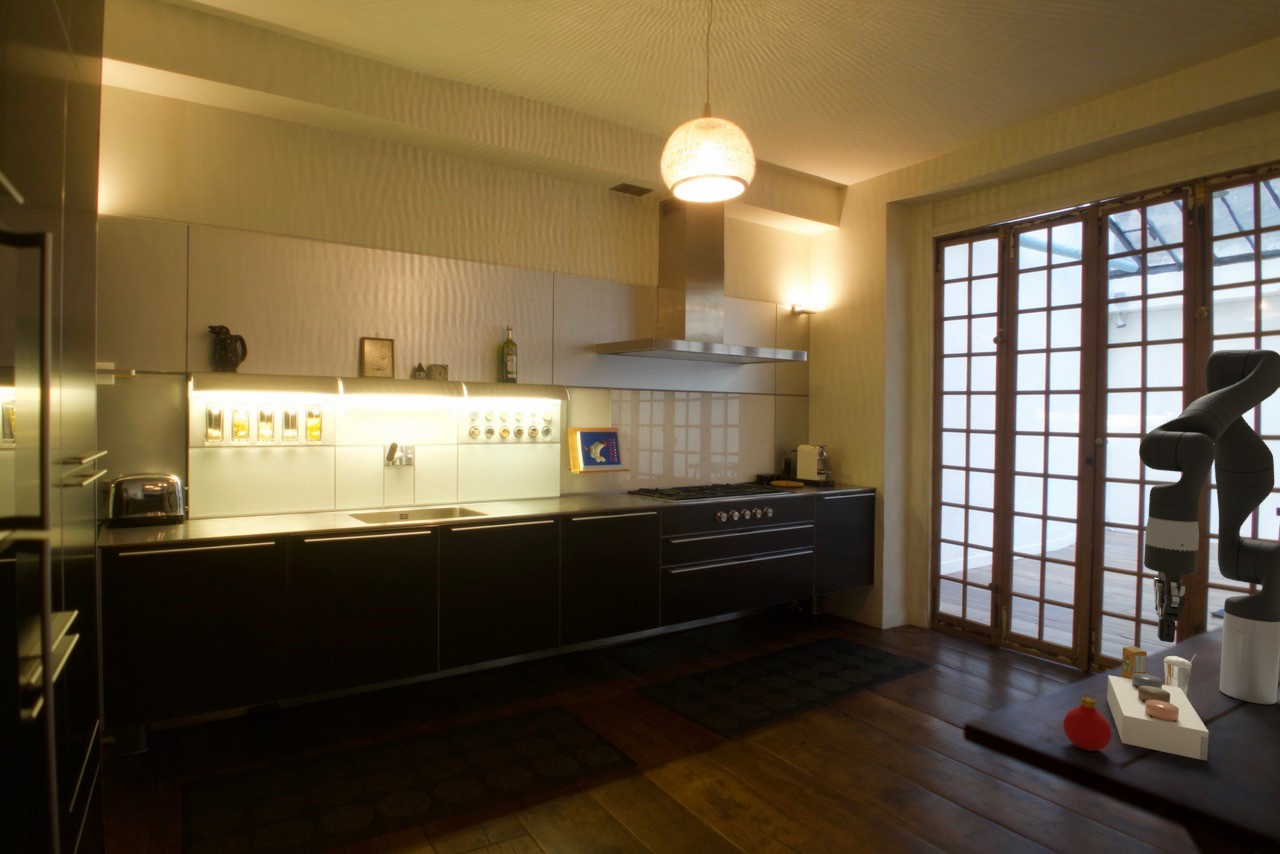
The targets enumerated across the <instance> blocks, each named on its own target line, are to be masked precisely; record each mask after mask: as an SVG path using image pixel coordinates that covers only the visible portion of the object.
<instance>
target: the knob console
mask: <svg viewBox="0 0 1280 854" xmlns="http://www.w3.org/2000/svg"><path fill="white" fill-rule="evenodd" d="M1162 689H1163V690H1165V691H1167V692H1169V693H1170V704H1173V705H1175V706H1176V707H1178V708H1179V717H1178V720H1174V722H1171V721H1166V720H1161V719H1156V718H1151V717H1150V716H1149V714H1148V713H1146V712H1145V702H1143V701H1142V699H1140V698H1139V697H1138V690H1139V689H1137V688H1136V686H1135V685H1133V684H1132V679H1127V678H1122V676H1116V675H1109V674H1108V675H1107V690H1106V692H1107V693H1106V700H1107V704H1108V707H1109V709H1110V711H1111V715H1112V717H1113V721H1114V724H1115V726H1116V729H1117V732H1118V735H1119V737H1120V740H1121V743H1122V744H1125V745H1129V746H1130V745H1131V746H1135V747H1139V748H1145V749H1149V750H1153V751H1154V750H1155V751H1159V752H1164V753H1168V754H1173V755H1177V756H1183V757H1187V758H1191V759H1197V760H1200V761H1201V760H1202V761H1206V762H1207V761H1208V749H1209V747H1208V746H1209V733H1210V732H1209V730H1208V729H1207V727H1206V726H1205V724H1204V722H1203V721H1202V719H1201V717H1200V716H1199V714H1198V713H1197V711H1196V710H1195V708H1194V707H1193V705H1192V704H1191V701H1190V700H1189V699H1188V697H1187V696H1185V694H1184V693H1183V691H1182V689H1181V688H1179V687H1173V686H1167V685H1165V684H1162Z"/></svg>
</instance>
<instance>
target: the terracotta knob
mask: <svg viewBox="0 0 1280 854" xmlns="http://www.w3.org/2000/svg"><path fill="white" fill-rule="evenodd" d="M1145 712H1146V713H1148V714H1149V716H1150V717H1151V718H1156V719H1161V720H1166V721H1171V722H1174V720H1178V717H1179V708H1178V707H1176V706H1175V705H1173V704H1170V703H1167V702H1163V701H1159V700H1147V701H1146V702H1145Z"/></svg>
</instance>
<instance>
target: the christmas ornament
mask: <svg viewBox="0 0 1280 854" xmlns="http://www.w3.org/2000/svg"><path fill="white" fill-rule="evenodd" d="M1089 693H1090V694H1091V696H1092V697H1086V695H1088V694H1089ZM1083 695H1084V696H1083V697H1081V703H1080V705H1079V706H1077V707H1074V708H1071V709H1070V710H1069V711H1068V712H1067V713H1066V714H1065V716H1064V718H1063V730H1064V733H1065V735H1066V737H1067V738H1068V739H1069V741H1070V742H1071V743H1072V744H1073V745H1075V746H1076V747H1077V748H1079V749H1082V750H1084V751H1090V752H1095V751H1101V750H1103V749H1104V748H1106V747H1107V746H1108V745H1109V743H1110V742H1111V739H1112V728H1111V726H1110V723H1109V721H1108V720H1107V718H1106V717H1105V715H1103V714H1102V713H1101V712H1100V711H1099V710H1097V709H1096V708H1097V707H1096V700H1095V699H1094V694H1093V692H1090V691H1087V692H1085V693H1084V694H1083Z"/></svg>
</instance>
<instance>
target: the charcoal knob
mask: <svg viewBox="0 0 1280 854" xmlns="http://www.w3.org/2000/svg"><path fill="white" fill-rule="evenodd" d="M1132 684H1133V685H1135V686H1136V688H1137V689H1139V687H1140V686H1151V687H1156V688H1160V689H1162V685H1163V679H1161V678H1160V677H1158V676H1156V675H1155V676H1154V675H1151V674H1148V673H1146V674H1142V673H1134V674H1133V675H1132Z"/></svg>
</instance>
